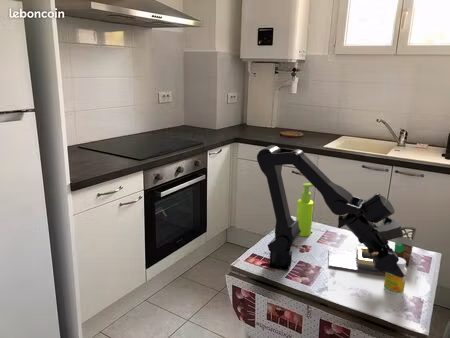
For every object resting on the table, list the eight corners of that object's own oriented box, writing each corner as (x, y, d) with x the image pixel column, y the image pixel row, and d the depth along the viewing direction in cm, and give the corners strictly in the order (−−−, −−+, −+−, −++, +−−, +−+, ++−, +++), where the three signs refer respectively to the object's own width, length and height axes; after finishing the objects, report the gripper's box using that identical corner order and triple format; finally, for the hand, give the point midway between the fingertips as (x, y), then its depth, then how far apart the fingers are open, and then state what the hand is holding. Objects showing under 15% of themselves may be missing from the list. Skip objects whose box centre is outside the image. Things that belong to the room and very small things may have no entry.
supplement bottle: (380, 289, 111) (385, 259, 109) (388, 281, 115) (392, 253, 112) (399, 297, 108) (404, 267, 105) (406, 289, 111) (411, 260, 109)
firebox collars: (328, 267, 122) (329, 256, 121) (329, 249, 133) (330, 240, 132) (391, 277, 118) (393, 266, 116) (386, 258, 129) (388, 248, 128)
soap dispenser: (314, 236, 143) (319, 186, 137) (296, 236, 143) (300, 186, 138) (311, 229, 149) (316, 181, 143) (294, 229, 149) (297, 181, 143)
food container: (393, 247, 136) (397, 222, 133) (411, 252, 133) (416, 226, 130) (387, 263, 126) (391, 235, 123) (407, 268, 123) (412, 240, 120)
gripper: (395, 226, 96) (434, 269, 98) (380, 200, 114) (413, 237, 115) (359, 251, 100) (397, 292, 101) (350, 222, 118) (383, 257, 119)
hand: (398, 267), depth 109 cm, fingers open, 9 cm apart
